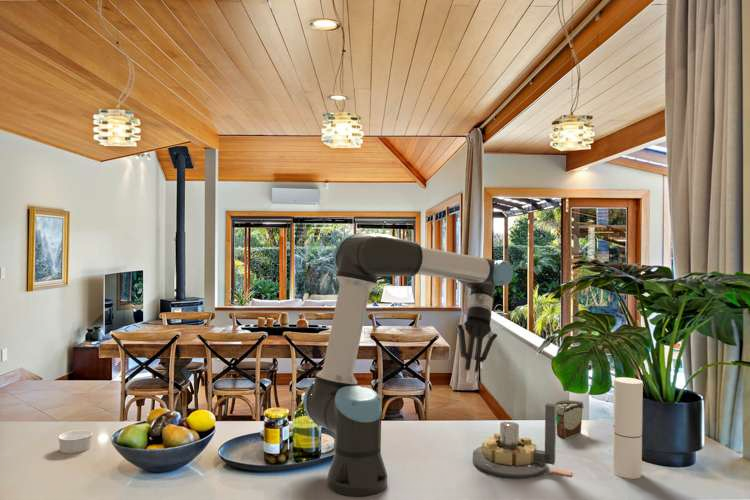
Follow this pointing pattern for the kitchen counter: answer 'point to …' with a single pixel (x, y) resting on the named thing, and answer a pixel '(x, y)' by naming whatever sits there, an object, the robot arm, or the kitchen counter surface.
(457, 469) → the kitchen counter surface
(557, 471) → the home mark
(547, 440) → the geared hub with post
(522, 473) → the flange
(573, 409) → the food container
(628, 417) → the cylindrical container
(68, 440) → the ramekin
